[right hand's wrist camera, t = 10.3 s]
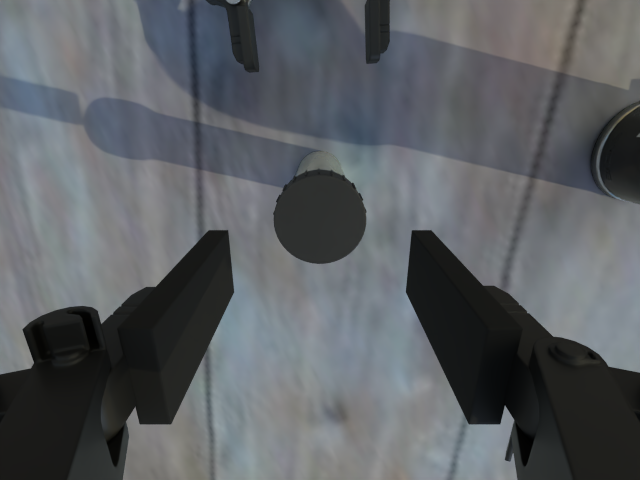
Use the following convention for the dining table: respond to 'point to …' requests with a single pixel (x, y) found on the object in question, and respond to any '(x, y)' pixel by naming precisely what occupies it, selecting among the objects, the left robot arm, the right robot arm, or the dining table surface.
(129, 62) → the dining table surface
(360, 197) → the lid
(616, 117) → the left robot arm
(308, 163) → the jar
